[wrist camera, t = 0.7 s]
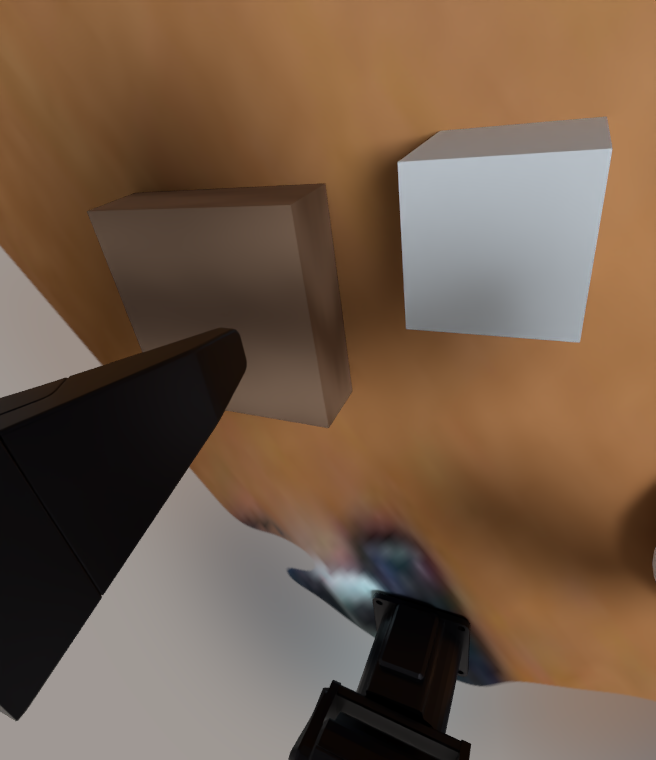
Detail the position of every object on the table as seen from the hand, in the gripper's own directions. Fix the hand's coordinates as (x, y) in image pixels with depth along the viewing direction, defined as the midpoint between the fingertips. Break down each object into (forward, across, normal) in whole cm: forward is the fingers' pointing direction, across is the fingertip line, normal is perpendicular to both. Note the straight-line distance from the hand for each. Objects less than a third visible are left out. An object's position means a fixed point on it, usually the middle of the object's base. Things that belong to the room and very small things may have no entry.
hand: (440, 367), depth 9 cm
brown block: (+11, +12, +4) cm, 16 cm away
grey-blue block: (+11, 0, 0) cm, 11 cm away
